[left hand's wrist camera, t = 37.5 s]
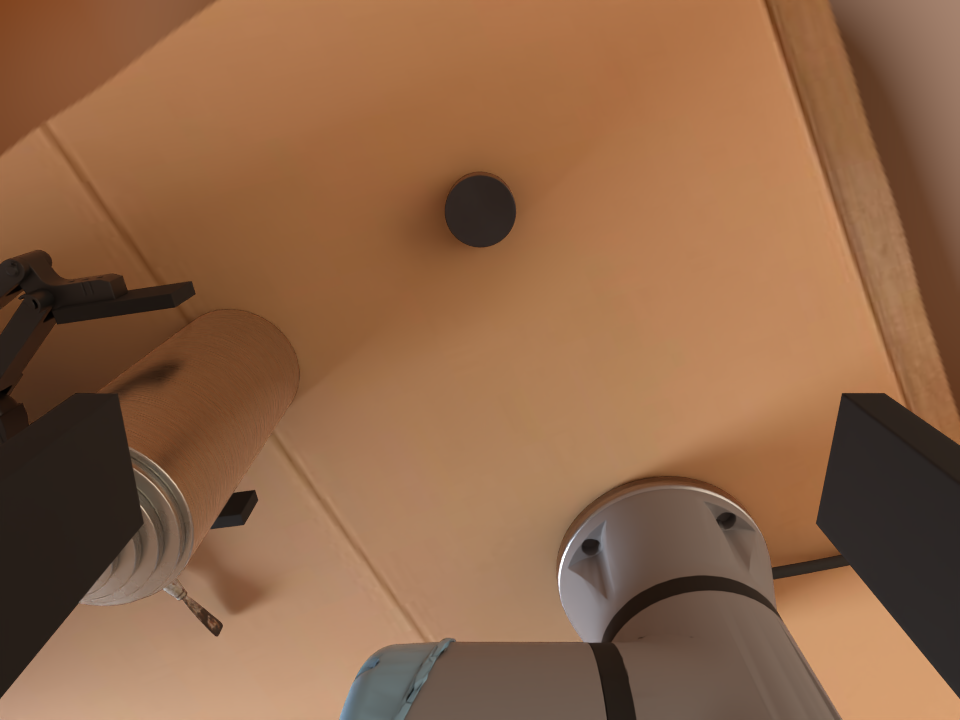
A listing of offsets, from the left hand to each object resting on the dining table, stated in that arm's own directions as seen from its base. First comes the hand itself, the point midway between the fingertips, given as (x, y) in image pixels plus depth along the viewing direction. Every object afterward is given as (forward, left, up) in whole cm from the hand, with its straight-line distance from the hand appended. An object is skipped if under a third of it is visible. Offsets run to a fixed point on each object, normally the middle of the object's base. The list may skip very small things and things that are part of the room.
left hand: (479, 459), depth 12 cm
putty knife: (+28, +22, -31) cm, 47 cm away
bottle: (+18, +6, -31) cm, 36 cm away
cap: (0, 0, -29) cm, 29 cm away
